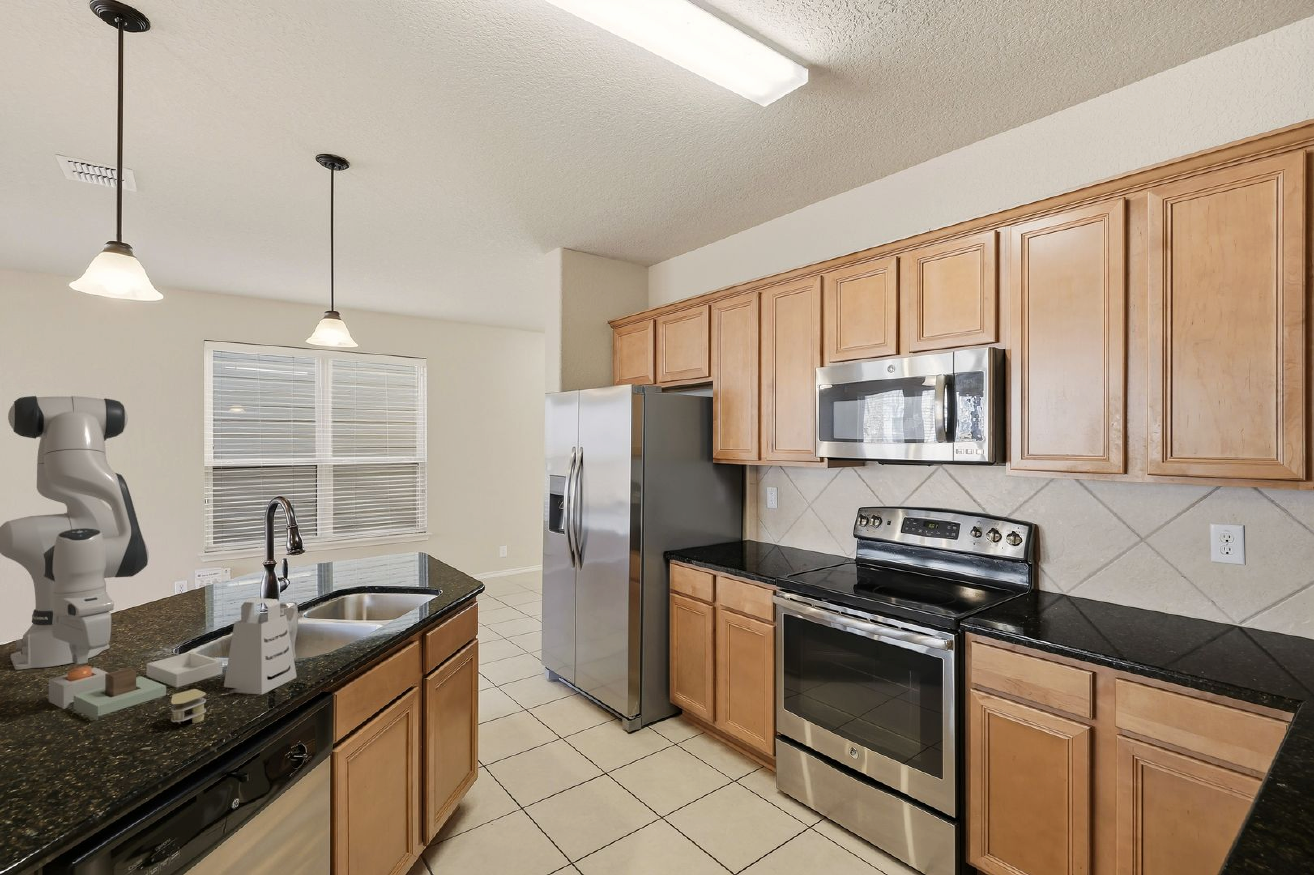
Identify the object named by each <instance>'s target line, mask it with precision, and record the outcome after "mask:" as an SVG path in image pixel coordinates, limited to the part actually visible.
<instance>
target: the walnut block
mask: <svg viewBox="0 0 1314 875" xmlns="http://www.w3.org/2000/svg"><path fill="white" fill-rule="evenodd" d="M136 678H137V670H135V669H132V668H129V667H126V668H122V669H119V670H115V671H110V672H108V673H107V674H105V695H106V696H108V697H110V698H111V697H114V696H118V695H121V694H124V693H128V692H131V691H135V690H136Z"/></svg>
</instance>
